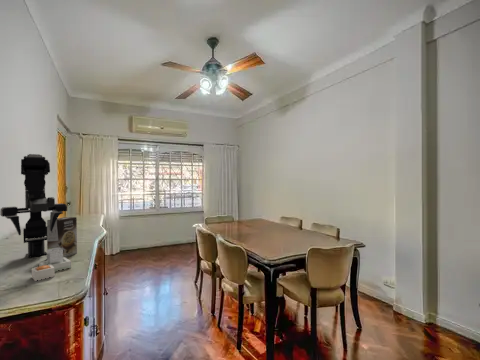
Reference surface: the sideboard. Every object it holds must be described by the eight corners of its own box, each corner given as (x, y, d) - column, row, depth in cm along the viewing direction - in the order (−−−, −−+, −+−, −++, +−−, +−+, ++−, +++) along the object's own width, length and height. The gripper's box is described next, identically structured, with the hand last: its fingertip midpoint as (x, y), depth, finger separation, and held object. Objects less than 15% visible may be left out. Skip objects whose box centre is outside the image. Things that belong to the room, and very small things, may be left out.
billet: (47, 265, 95) (46, 249, 95) (60, 263, 98) (59, 247, 98) (50, 268, 93) (49, 251, 93) (63, 265, 96) (63, 249, 96)
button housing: (31, 277, 87) (31, 268, 87) (50, 272, 91) (50, 264, 91) (35, 281, 83) (35, 271, 83) (54, 276, 87) (54, 267, 87)
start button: (36, 273, 87) (35, 267, 87) (47, 270, 89) (47, 264, 89) (38, 275, 85) (38, 269, 85) (50, 272, 87) (50, 266, 87)
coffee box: (59, 259, 106) (59, 220, 106) (46, 258, 108) (45, 219, 107) (77, 253, 115) (77, 216, 115) (65, 252, 116) (64, 216, 116)
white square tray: (39, 268, 95) (39, 262, 95) (64, 263, 101) (64, 256, 101) (44, 273, 90) (44, 266, 90) (71, 267, 96) (71, 261, 96)
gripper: (4, 192, 83) (5, 241, 83) (71, 189, 97) (72, 231, 97) (-1, 191, 91) (0, 236, 91) (62, 189, 105) (63, 228, 105)
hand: (35, 233), depth 96 cm, fingers open, 9 cm apart
